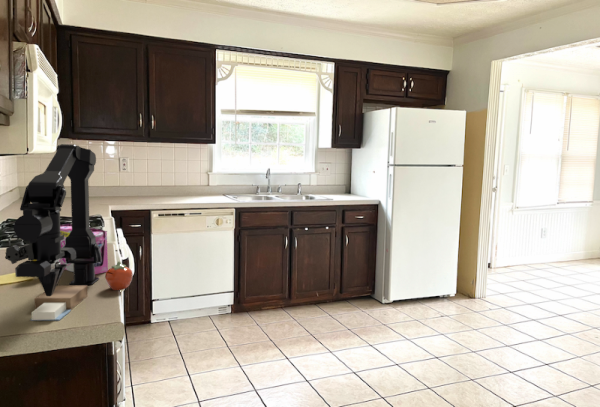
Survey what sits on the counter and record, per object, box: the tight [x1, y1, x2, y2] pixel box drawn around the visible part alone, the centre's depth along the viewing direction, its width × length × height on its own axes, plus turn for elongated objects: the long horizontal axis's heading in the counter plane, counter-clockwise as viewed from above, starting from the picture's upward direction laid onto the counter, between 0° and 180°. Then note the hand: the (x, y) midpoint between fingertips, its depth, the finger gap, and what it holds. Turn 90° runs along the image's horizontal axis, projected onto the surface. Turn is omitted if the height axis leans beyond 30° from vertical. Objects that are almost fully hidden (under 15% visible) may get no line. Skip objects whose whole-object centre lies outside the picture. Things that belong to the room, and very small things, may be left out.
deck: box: [34, 284, 89, 311], centre depth 119 cm, size 11×8×3 cm
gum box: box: [59, 223, 109, 275], centre depth 152 cm, size 24×8×14 cm, turn 56°
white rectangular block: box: [31, 302, 66, 321], centre depth 110 cm, size 7×5×2 cm
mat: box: [29, 310, 72, 322], centre depth 110 cm, size 6×6×1 cm
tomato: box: [104, 260, 134, 291], centre depth 132 cm, size 7×7×8 cm
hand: (49, 295), depth 111 cm, fingers closed
